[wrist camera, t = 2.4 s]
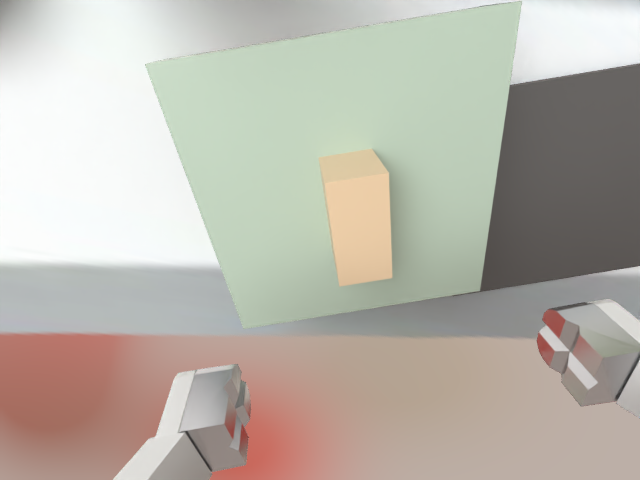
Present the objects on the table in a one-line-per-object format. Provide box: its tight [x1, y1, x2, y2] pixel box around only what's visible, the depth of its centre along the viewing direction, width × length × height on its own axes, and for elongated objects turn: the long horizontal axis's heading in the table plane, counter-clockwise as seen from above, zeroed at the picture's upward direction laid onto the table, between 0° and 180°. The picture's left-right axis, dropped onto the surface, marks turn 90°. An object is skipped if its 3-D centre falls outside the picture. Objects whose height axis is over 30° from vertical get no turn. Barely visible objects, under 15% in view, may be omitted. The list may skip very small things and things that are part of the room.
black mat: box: [452, 64, 640, 296], centre depth 26 cm, size 17×17×1 cm
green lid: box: [145, 1, 522, 329], centre depth 16 cm, size 14×14×5 cm
